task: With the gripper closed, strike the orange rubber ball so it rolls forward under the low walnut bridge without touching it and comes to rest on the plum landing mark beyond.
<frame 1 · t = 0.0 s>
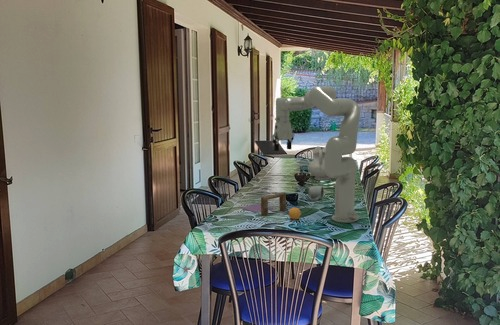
hand: (282, 149, 254), 31 cm above the table, tool pointing down, fingers open, 9 cm apart
bridge: (273, 213, 239), on the table
landing mark: (257, 208, 249), on the table
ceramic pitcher: (322, 179, 328), on the table
ceramic mug: (316, 199, 268), on the table
ball: (294, 213, 226), on the table
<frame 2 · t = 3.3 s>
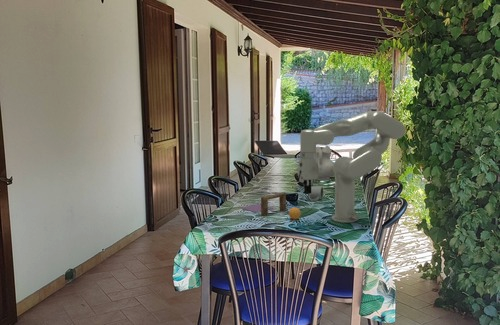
hand: (307, 193, 216), 15 cm above the table, tool pointing down, fingers closed
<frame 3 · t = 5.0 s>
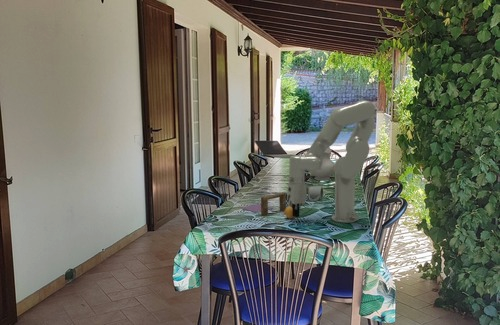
hand: (295, 216, 224), 2 cm above the table, tool pointing down, fingers closed
ball: (290, 212, 228), on the table
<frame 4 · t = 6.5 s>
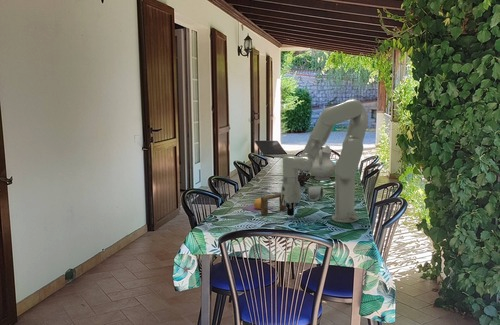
hand: (290, 215, 228), 2 cm above the table, tool pointing down, fingers closed
ball: (259, 203, 247), on the table
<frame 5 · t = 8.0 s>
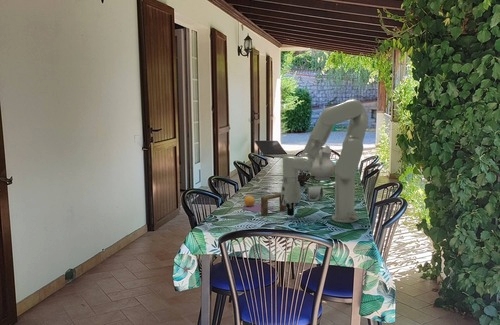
hand: (290, 215, 228), 2 cm above the table, tool pointing down, fingers closed
ball: (249, 201, 253), on the table
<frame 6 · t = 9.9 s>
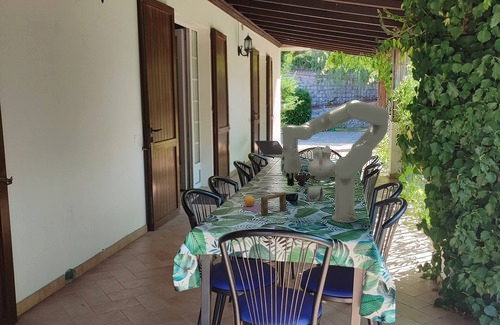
hand: (290, 185, 226), 17 cm above the table, tool pointing down, fingers closed
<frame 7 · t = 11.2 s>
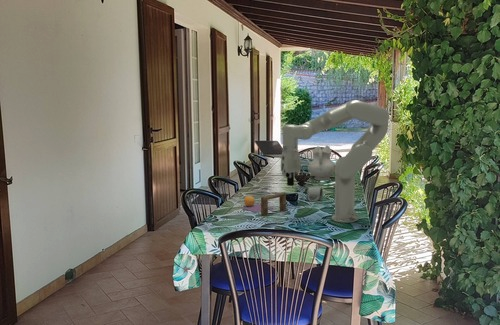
hand: (290, 185, 226), 17 cm above the table, tool pointing down, fingers closed
at the end: ball 6.2 cm from the landing mark (horizontally); ball never touched bridge; ball at rest at the end (0.0 cm/s) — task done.
